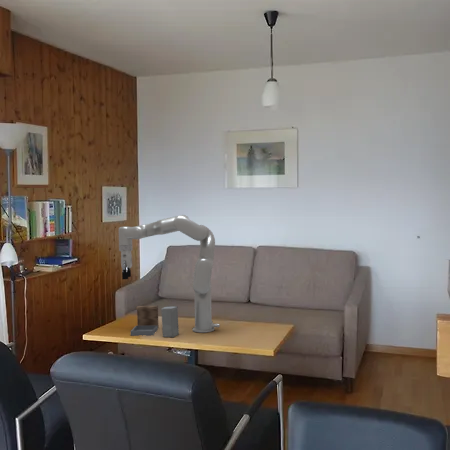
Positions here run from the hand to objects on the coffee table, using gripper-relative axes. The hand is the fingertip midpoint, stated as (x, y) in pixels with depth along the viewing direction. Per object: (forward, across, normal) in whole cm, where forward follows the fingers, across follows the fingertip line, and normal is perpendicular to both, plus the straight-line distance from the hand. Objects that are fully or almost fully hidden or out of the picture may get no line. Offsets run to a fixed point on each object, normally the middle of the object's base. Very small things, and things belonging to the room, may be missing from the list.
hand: (126, 278), depth 311 cm
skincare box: (+31, -13, -25) cm, 42 cm away
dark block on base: (+31, +4, -11) cm, 32 cm away
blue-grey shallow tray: (+31, -5, -10) cm, 32 cm away
